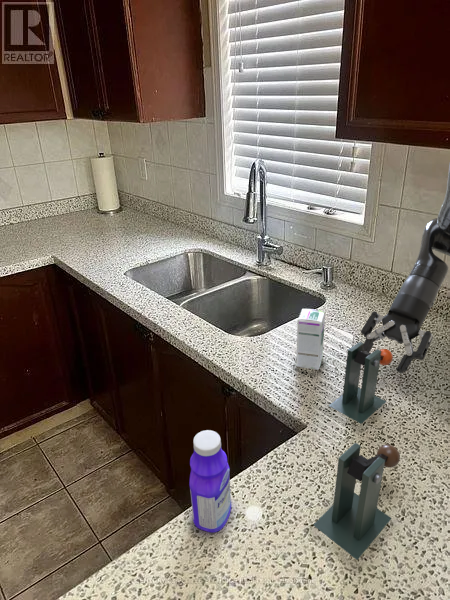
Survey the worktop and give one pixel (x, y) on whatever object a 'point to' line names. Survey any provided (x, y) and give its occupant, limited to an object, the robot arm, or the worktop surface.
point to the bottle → (209, 482)
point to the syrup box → (310, 338)
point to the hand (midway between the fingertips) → (380, 363)
